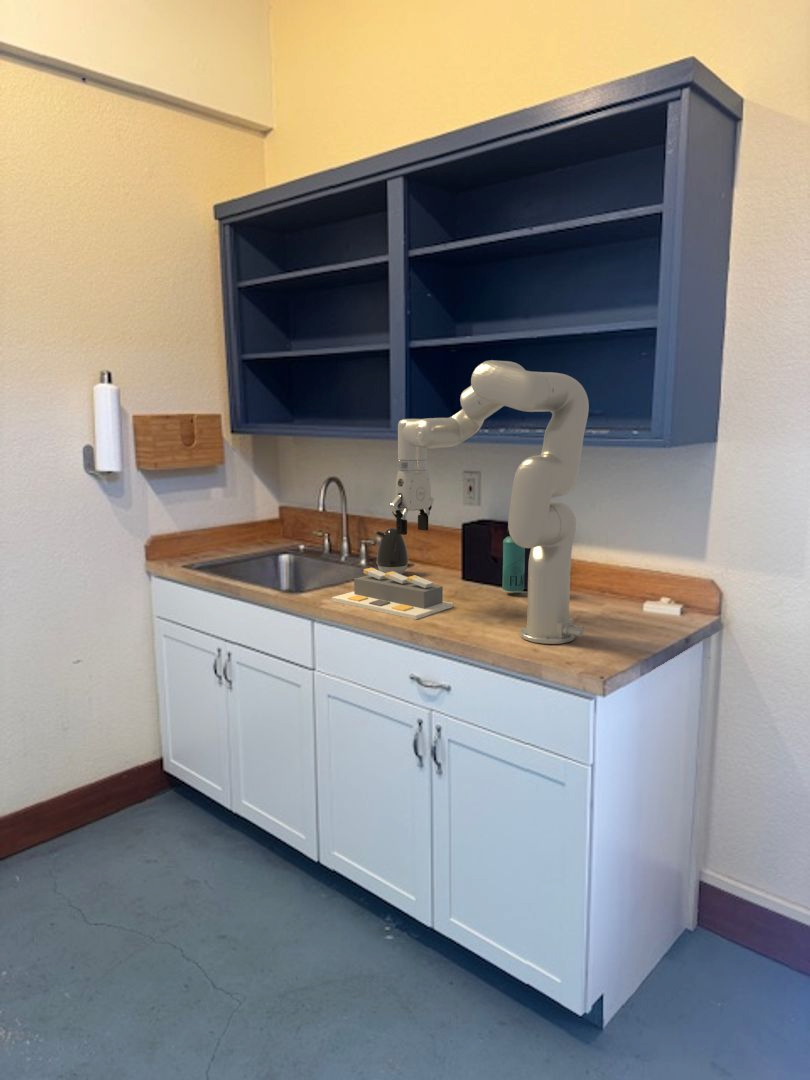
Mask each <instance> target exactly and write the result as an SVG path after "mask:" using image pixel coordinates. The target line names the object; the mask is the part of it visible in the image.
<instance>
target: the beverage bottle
mask: <svg viewBox="0 0 810 1080" xmlns="http://www.w3.org/2000/svg"><path fill="white" fill-rule="evenodd" d="M506 528H507V529H506V533H507V534H510V533H509V529H508V526H506ZM526 549H527V548H523V547H520V546H518V545H517V544H516V543H515V542H514V541H513V540H512V538H511V536H510V535H509V536H506V537H505V538H504V539H503V541H502V579H501V580H502V586H501V587H502V590H503V591H505V592H513V593H516V592H517V593H518V592H523V591H524V589H525V584H526V583H525V582H526V581H525V580H526V576H525V573H526V569H525V567H526V566H525V565H526V563H525V562H526Z"/></svg>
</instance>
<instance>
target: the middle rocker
mask: <svg viewBox="0 0 810 1080" xmlns="http://www.w3.org/2000/svg"><path fill="white" fill-rule="evenodd" d="M385 577H386V578H389V579H392V580H394V581H396V582H399V583H401V584H403V583H407V582H409V581H407V577H408V576H406V575H403V574H398V573H396V572H394V571H392V572H388V573H385Z"/></svg>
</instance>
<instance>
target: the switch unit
mask: <svg viewBox="0 0 810 1080" xmlns="http://www.w3.org/2000/svg"><path fill="white" fill-rule="evenodd" d="M353 583H354V589H353V590H354V591H351V592H350V591H349V592H347V593H343V594H339V595H335V596H332V597H331V602H336V603H339V604H344V605H348V606H349V605H350V606H354V607H358V608H363V609H366V610H372V611H375V612H380V613H385V614H390V615H392V616H393V615H394V616H398V617H403V618H407V619H412V620H418V619H421V618H424V617H427V616H429V615H430V616H431V615H433V614H436V613H439V612H442V611H445V610H448V609H451V608H453V607H454V602H448V601H445V600H443V597H444V596H443V595H444V594H443V591H444V590H443V586H441V585H437V584H433V586H431V587H428V588H424V587H421V586H419V585H416V584H414V583H411V582H407V583H403V584H401V583H399V582H396V581H394V580H392V579H389V578H385V579H381V580H380V579H377V578H375V577H372V576H370V575H368V574H366V575H364V576H360V577H356V578H355V577H354V581H353Z"/></svg>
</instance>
